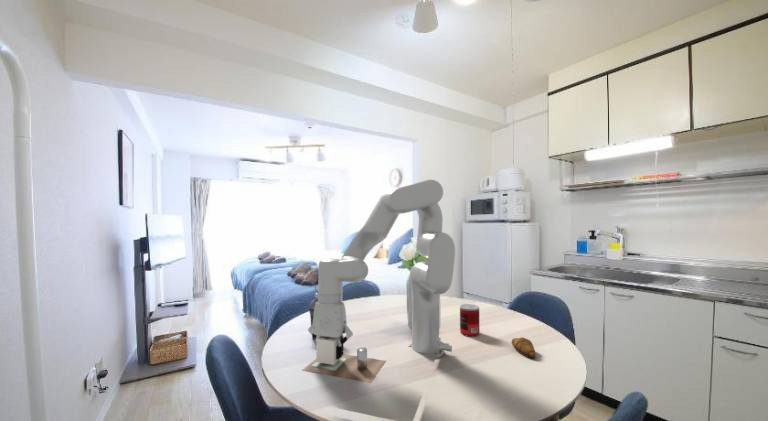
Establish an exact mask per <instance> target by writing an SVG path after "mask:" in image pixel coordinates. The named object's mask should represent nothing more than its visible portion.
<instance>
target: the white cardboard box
mask: <svg viewBox="0 0 768 421" xmlns="http://www.w3.org/2000/svg"><path fill="white" fill-rule="evenodd" d="M336 346H338V344H337V339H336V338H331V337H323V336H321V337H319V338H317V343H316V349H315V350H316V352H315V353H316V355H315V359H316V362H319V363H325V364H331V365H334V364H335V363H336V362H337V361H338V360H340V359H341V358H342V357H343V355H342V357H340V358H339V359H336Z"/></svg>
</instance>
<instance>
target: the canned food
mask: <svg viewBox="0 0 768 421" xmlns="http://www.w3.org/2000/svg"><path fill="white" fill-rule="evenodd" d="M459 331H460V332H459V333H460V334H461V333H462V334H463V336H465V335H467V336H466V337H470V336H474V337H477V336H476V335H478V334H479V335H480V307H479V305H476V304H472V303H471V304H470V303H465V304H460V305H459ZM462 334H461V335H462ZM479 335H478V336H479Z"/></svg>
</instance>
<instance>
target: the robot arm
mask: <svg viewBox="0 0 768 421" xmlns="http://www.w3.org/2000/svg"><path fill="white" fill-rule="evenodd" d="M443 196H444V188H443V186H442V185H441V183H440V182H439V181H437V180H435V179H426V180H423V181H418V182H415V183H413V184H408V185H404V186H400V187H396V188H392V189H389V190H386V191H385V192H384V193H382V194H381V196H380V197H379V198H378V201H377V202H376V204H375V205H374V208H373V210H372V211H371V213H370V215H369V217H368V218H367V220H366V222H365V223H364V225H363V226H362V227H361V228H360V229H359V231H358V232H357V234H356V235H355V236H354V238H353V239H352V240H351V241H350V243H349V244H348V247H347V248H346V250H345V251H344V253H343V255H342V256H341V258H322V259H320V261H318V262H319V263H318V282H317V283H318V290H317V291H318V292H317V293H316V292H315V294H314V297H315V298H318V302H316V304H315V309H314V315H313V324H312V325H311V324H310V327H309V328H307V331H308V333H310V335H311V338H312V337H313V338H314V339H313V340H314V342H315V344H317V338H319V337H321V336H323V337H331V338H336V339H337V344H338V346H336V359H339V358H340V357H342V355H343V354H344V344H345V343H346V342H347V341H348V340H349V339H350V338H352V336H353V335H354V333H353V331H352V330H351V329H350V327H349V326H348V325H347V324H348V323H347V322H348V321H347V311H346V305H345V301H343V282H344V283H345V282H347V283H360V282H362V281H363V280H365V279H366V278H367V277H368V274H369V266H368V264H367V262H365V261H364V260H365V259H366V257H367V256H368V254H369V253H370V252H371V250H372V249H373V248H374V247H375V246H377V245H379V244H380V243H382V242H383V241H384V240H385V239H386V238H387V237H388V235H389V234H390V231H391V230H392V228H393V226H394V224H395V223H396V221H397V219H398V217H399V215H401V214H406V213H411V212H414V211H416V212H417V215H418V227H417V237H416V246H415V247H416V251H417V253H418V254H419V255H420V256H421V257H423V258H426V259H427V261H418V262H416V263H414V265H412V267H411V269H410V272H409V282H410V288H411V289H410V290H411V344H409V345H408V346H407V347H409V348H411V349H412V350H413V351H414V352H417V353H419V354H424V355H425V354H426V355H429V354H431V355H432V354H435V353H436V354H435V358H434V360H436V359H439V358H442V357H443V355H444V351H446V352H451V353H452V352H453V345H450V343H449V342H443V341H442V338H441V337H440V300H439V295H443V294H445V293H447V292H448V291H449V289H450V288H451V285H452V283H453V282H452V281H453V278H454V276H453V275H454V270H455V269H454V268H455V259H456V258H455V257H456V245H455V242H454V240H453V238H452V237H451V235H449V234H448V233H445V232H443V220H444V219H443V212H442V209H441V207H440V205H439V202H440V201H441V200H442V198H443ZM344 334H346V335H345V336H344Z"/></svg>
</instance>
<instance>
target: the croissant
mask: <svg viewBox="0 0 768 421" xmlns="http://www.w3.org/2000/svg"><path fill="white" fill-rule="evenodd" d="M511 344H512V347H513V346H514V347H513V348H514V350H516V351H517V350H518V351H519V352H518V351H517V352H518V353H520V352H521V354H522V355H523V354H524V355H523V356H525V355H526V356H525V357H527V356H528V357H527V358H529V357H530V358H529V359H535V358H536V350H535V347H534V345H533V342H532V341H531V340H530V339H528V338H525V337H516V338H512V339H511Z"/></svg>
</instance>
